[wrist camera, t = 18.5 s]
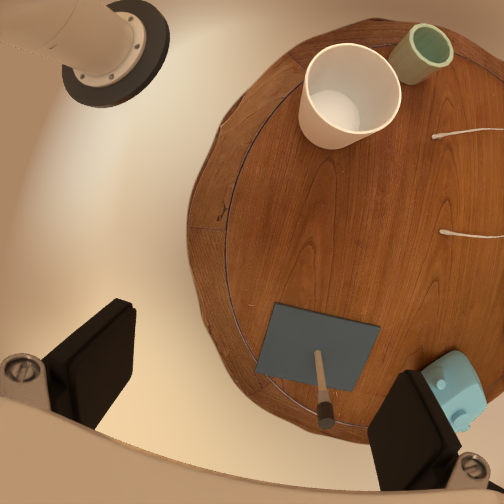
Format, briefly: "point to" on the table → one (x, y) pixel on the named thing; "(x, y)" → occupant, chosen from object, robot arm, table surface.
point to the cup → (347, 96)
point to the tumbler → (421, 54)
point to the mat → (315, 347)
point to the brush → (323, 396)
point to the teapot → (456, 389)
